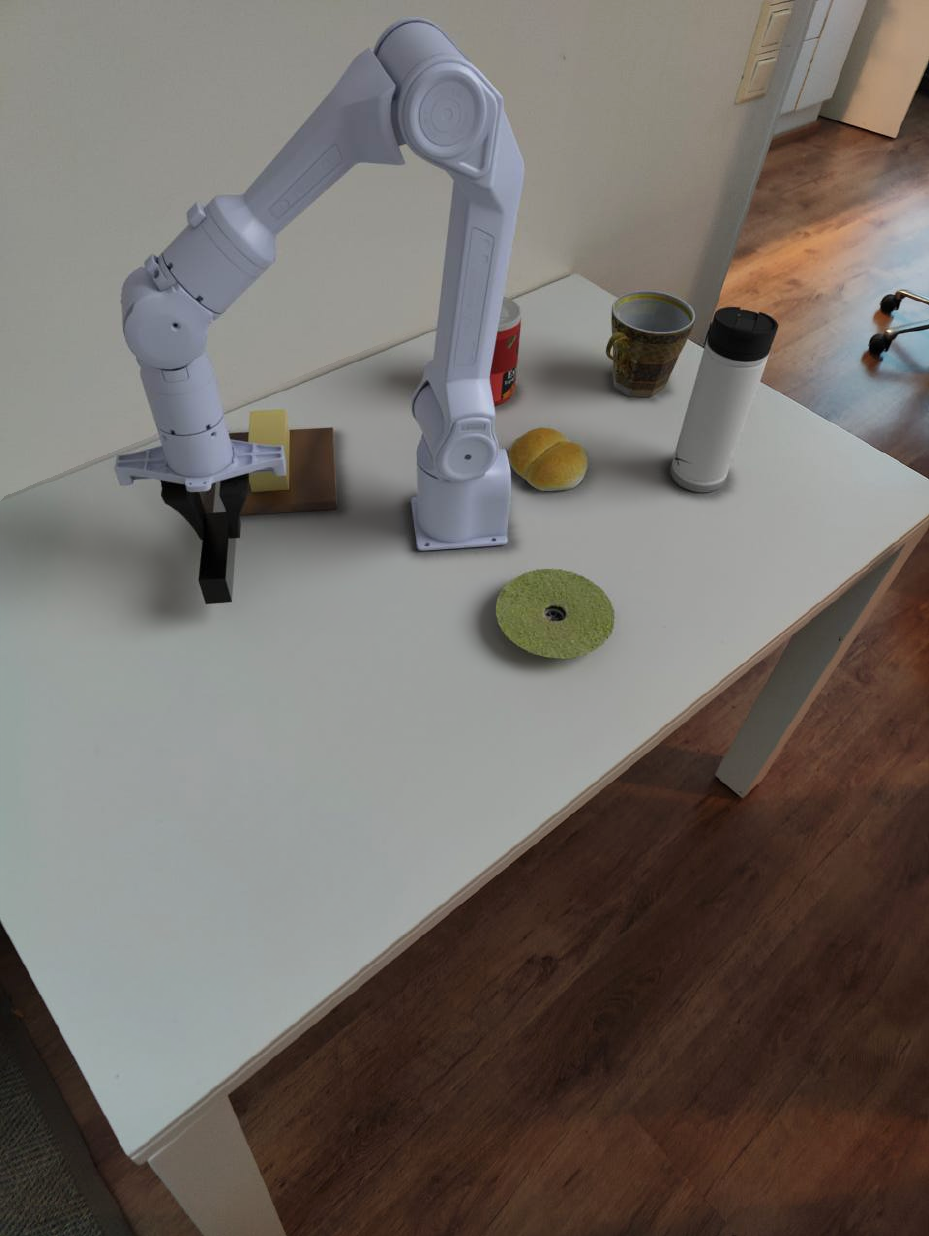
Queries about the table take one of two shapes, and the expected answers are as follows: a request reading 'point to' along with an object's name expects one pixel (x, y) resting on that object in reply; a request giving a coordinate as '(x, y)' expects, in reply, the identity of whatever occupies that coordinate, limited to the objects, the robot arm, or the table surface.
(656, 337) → the ceramic cup
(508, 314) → the canned food
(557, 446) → the bread roll
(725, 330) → the travel mug
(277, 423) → the butter stick
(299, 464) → the butter board
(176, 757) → the table surface
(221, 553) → the two-tone black bar
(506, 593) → the green abrasive disc
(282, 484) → the butter pat
